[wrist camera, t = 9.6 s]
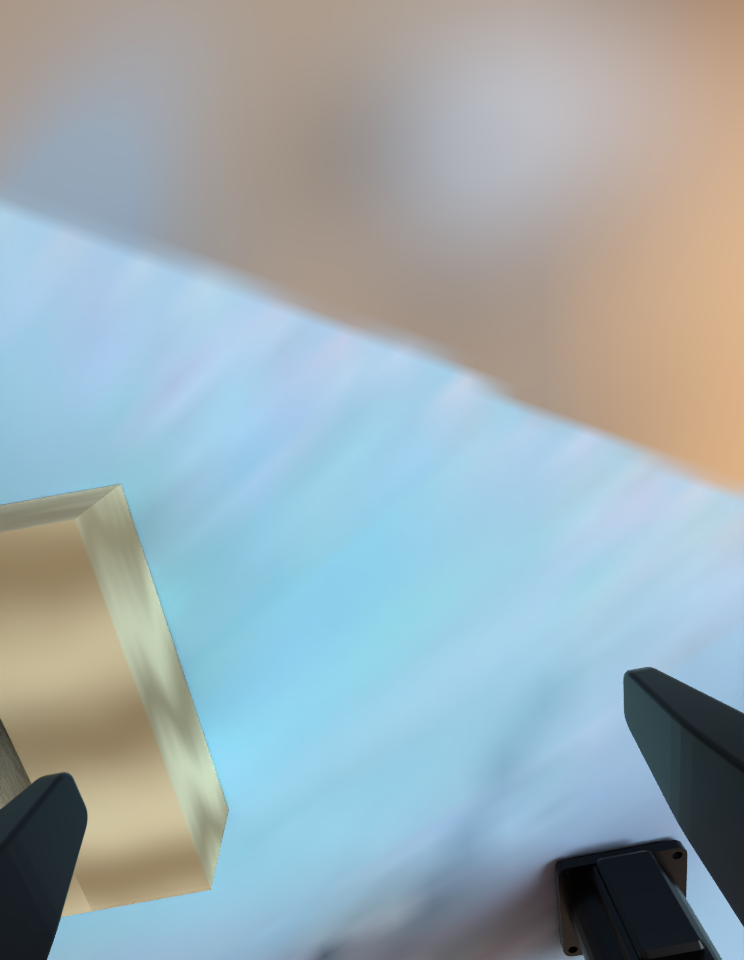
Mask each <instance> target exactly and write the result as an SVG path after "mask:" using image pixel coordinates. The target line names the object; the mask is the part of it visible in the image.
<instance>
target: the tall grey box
mask: <svg viewBox="0 0 744 960" xmlns="http://www.w3.org/2000/svg"><path fill="white" fill-rule="evenodd" d="M30 784H32V783H31V781H30V779H29V777H28V775H27V773H26V771H25V769H24V767H23V764H22V762H21V760H20V758H19V756H18V754H17V752H16V750H15V748H14V745H13V743H12V741H11V739H10V737H9V735H8V733H7V731H6V729H5V727H4V724H3V722H2V720H1V718H0V809H1V808H3V807H4V806H5V805H6V804H8V803H9V802H10V801H11V800H12V799H14V798H15V797H16V796H17V795H18V794H20V793H21V792H22V791H23V790H24V789H26V788H27V787H28V786H29V785H30Z"/></svg>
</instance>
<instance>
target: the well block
mask: <svg viewBox="0 0 744 960" xmlns="http://www.w3.org/2000/svg"><path fill="white" fill-rule="evenodd" d="M0 718H1V720H2V722H3V724H4V727H5V729H6V731H7V733H8V735H9V737H10V739H11V741H12V743H13V745H14V748H15V750H16V752H17V754H18V756H19V758H20V760H21V762H22V764H23V767H24V769H25V771H26V773H27V775H28V777H29V779H30V781H31V783H33V782H34V781H35V780H37V779H38V778H40V777H42V776H45V775H49V774H55V773H60V772H68V773H69V774H71V775H72V777H73V778H74V781H75V783H76V785H77V787H78V790H79V792H80V794H81V796H82V799H83V801H84V803H85V805H86V808H87V813H88V821H87V827H86V831H85V834H84V838H83V841H82V845H81V848H80V852H79V855H78V859H77V862H76V866H75V870H74V873H73V877H72V880H71V884H70V887H69V891H68V894H67V898H66V901H65V905H64V908H63V912H62V915H61V917H63V916H69V915H74V914H80V913H85V912H91V911H96V910H102V909H107V908H113V907H118V906H124V905H129V904H135V903H140V902H146V901H151V900H157V899H162V898H167V897H173V896H178V895H184V894H189V893H195V892H200V891H206V890H211V887H212V882H213V878H214V873H215V869H216V864H217V860H218V855H219V851H220V847H221V842H222V838H223V833H224V829H225V824H226V820H227V815H228V811H229V809H228V806H227V803H226V800H225V797H224V794H223V791H222V788H221V785H220V782H219V779H218V776H217V773H216V770H215V767H214V764H213V761H212V758H211V755H210V752H209V749H208V746H207V743H206V740H205V737H204V734H203V731H202V728H201V725H200V722H199V719H198V716H197V713H196V710H195V707H194V704H193V701H192V698H191V695H190V692H189V689H188V686H187V683H186V680H185V677H184V674H183V670H182V667H181V664H180V661H179V658H178V655H177V652H176V649H175V646H174V643H173V640H172V637H171V634H170V631H169V628H168V625H167V622H166V619H165V616H164V613H163V610H162V607H161V604H160V601H159V598H158V595H157V592H156V589H155V586H154V583H153V580H152V577H151V574H150V571H149V568H148V565H147V562H146V559H145V556H144V553H143V550H142V547H141V544H140V541H139V538H138V534H137V531H136V528H135V525H134V522H133V519H132V516H131V513H130V510H129V507H128V504H127V501H126V498H125V495H124V492H123V489H122V486H121V484H118V485H112V486H107V487H101V488H95V489H90V490H84V491H78V492H73V493H67V494H61V495H56V496H50V497H44V498H38V499H33V500H27V501H21V502H16V503H10V504H4V505H0Z"/></svg>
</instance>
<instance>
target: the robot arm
mask: <svg viewBox="0 0 744 960" xmlns="http://www.w3.org/2000/svg"><path fill="white" fill-rule="evenodd" d="M623 685H624V714H625V719H626V722H627V725H628V727H629V729H630V731H631V733H632V735H633V737H634V739H635V741H636V743H637V745H638V747H639V749H640V751H641V753H642V755H643V757H644V759H645V760H646V762H647V764H648V766H649V768H650V770H651V772H652V774H653V776H654V778H655V780H656V782H657V784H658V786H659V788H660V790H661V792H662V794H663V796H664V797H665V799H666V801H667V803H668V805H669V807H670V809H671V811H672V813H673V815H674V816H675V818H676V820H677V822H678V824H679V826H680V827H681V829H682V831H683V832H684V834H685V835H686V837H687V839H688V840H689V842H690V844H691V845H692V847H693V848H694V850H695V851H696V853H697V855H698V856H699V858H700V859H701V861H702V862H703V864H704V866H705V867H706V869H707V870H708V872H709V873H710V875H711V876H712V878H713V880H714V881H715V883H716V884H717V886H718V887H719V889H720V891H721V892H722V894H723V895H724V897H725V898H726V900H727V902H728V903H729V905H730V906H731V908H732V909H733V911H734V912H735V914H736V916H737V917H738V919H739V920H740V922H741V923H742V925H743V927H744V713H742V712H740V711H738V710H736V709H734V708H732V707H730V706H728V705H726V704H724V703H722V702H720V701H718V700H716V699H714V698H712V697H710V696H708V695H706V694H704V693H702V692H700V691H698V690H696V689H695V688H693V687H691V686H689V685H687V684H685V683H683V682H681V681H679V680H677V679H675V678H673V677H671V676H669V675H667V674H665V673H663V672H661V671H659V670H657V669H655V668H652V667H644V668H638V669H633V670H628V671H627V672H626V673H625V674H624V679H623ZM87 821H88V813H87V808H86V805H85V803H84V801H83V799H82V796H81V794H80V792H79V790H78V787H77V785H76V783H75V781H74V778H73V777H72V775H71V774H69V773H68V772H60V773H55V774H49V775H45V776H42V777H40V778H38V779H37V780H35V781H34V782H33V783H32V784H30V785H29V786H28V787H27V788H26V789H24V790H23V791H22V792H21V793H20V794H18V795H17V796H16V797H15V798H14V799H12V800H11V801H10V802H9V803H8V804H6V805H5V806H4V807H3V808H1V809H0V960H47V958H48V955H49V952H50V949H51V946H52V944H53V941H54V938H55V935H56V932H57V928H58V925H59V922H60V919H61V915H62V912H63V908H64V905H65V901H66V898H67V894H68V891H69V887H70V884H71V880H72V877H73V873H74V870H75V866H76V862H77V859H78V855H79V852H80V848H81V845H82V841H83V838H84V834H85V831H86V827H87ZM555 878H556V891H557V903H558V916H559V928H560V940H561V945H562V948H563V951H564V953H565V954H566V955H567V956H577V955H582V954H583V956H584V959H585V960H722V958H721V957H720V955H719V953H718V952H717V950H716V948H715V947H714V945H713V943H712V942H711V940H710V938H709V937H708V935H707V933H706V932H705V930H704V928H703V927H702V925H701V923H700V921H699V920H698V918H697V916H696V915H695V913H694V911H693V910H692V908H691V906H690V905H689V903H688V901H687V900H686V882H687V851H686V849H685V848H684V846H683V845H682V843H681V842H680V841H677V840H672V841H666V842H661V843H655V844H650V845H644V846H639V847H633V848H628V849H622V850H617V851H612V852H606V853H601V854H595V855H590V856H584V857H579V858H573V859H568V860H563V861H560V862H559V863H557V865H556V866H555Z"/></svg>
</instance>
